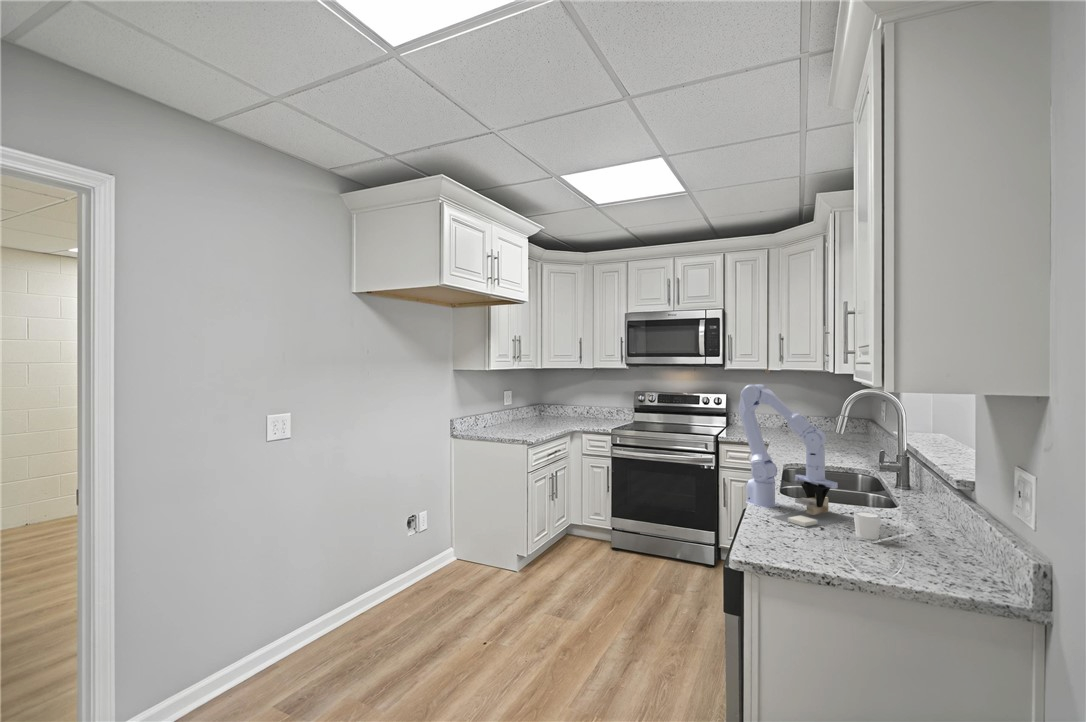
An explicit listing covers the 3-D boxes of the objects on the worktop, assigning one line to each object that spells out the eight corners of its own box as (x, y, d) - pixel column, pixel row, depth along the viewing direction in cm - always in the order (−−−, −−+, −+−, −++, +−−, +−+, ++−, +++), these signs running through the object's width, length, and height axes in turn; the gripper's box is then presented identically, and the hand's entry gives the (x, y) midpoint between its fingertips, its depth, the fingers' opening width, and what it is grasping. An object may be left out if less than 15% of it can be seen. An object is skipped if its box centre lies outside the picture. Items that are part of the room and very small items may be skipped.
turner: (818, 509, 182) (818, 495, 182) (831, 512, 178) (831, 498, 178) (795, 513, 177) (795, 498, 177) (808, 517, 173) (808, 502, 173)
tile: (800, 519, 170) (787, 522, 167) (800, 515, 170) (787, 517, 167) (817, 524, 165) (804, 527, 162) (817, 520, 165) (804, 522, 162)
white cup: (886, 542, 150) (886, 517, 150) (862, 542, 150) (862, 517, 150) (871, 534, 157) (871, 511, 157) (848, 534, 157) (848, 511, 157)
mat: (770, 518, 173) (770, 516, 173) (817, 509, 184) (817, 508, 184) (808, 530, 161) (808, 528, 161) (857, 520, 171) (856, 518, 171)
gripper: (788, 463, 183) (789, 502, 183) (827, 470, 170) (828, 512, 170) (802, 461, 186) (802, 499, 186) (841, 468, 173) (841, 509, 173)
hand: (815, 505), depth 178 cm, fingers closed on turner, 2 cm apart
